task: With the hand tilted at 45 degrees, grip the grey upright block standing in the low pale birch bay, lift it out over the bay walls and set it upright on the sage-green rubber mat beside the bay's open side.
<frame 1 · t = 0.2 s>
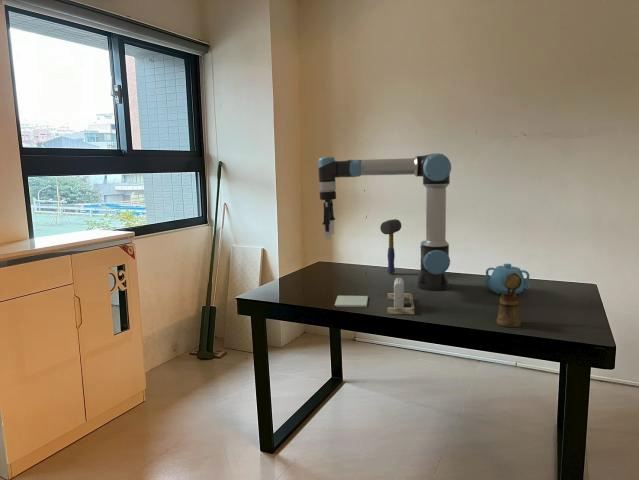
hand: (329, 236, 232), 28 cm above the table, tool pointing down, fingers open, 13 cm apart
sage mat: (351, 301, 222), on the table
rubber mallet: (391, 274, 270), on the table
brown wooden ornament: (509, 322, 191), on the table
birch bay: (399, 306, 214), on the table
decorative pot: (506, 292, 230), on the table
grey upright block: (399, 306, 214), on the table
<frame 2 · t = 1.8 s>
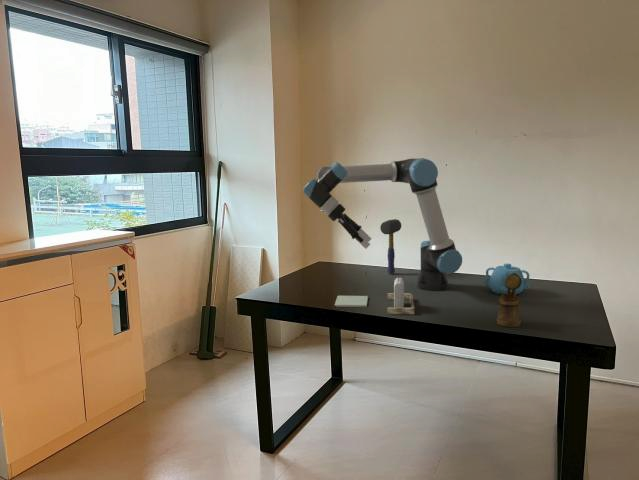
hand: (368, 243, 211), 28 cm above the table, tool tilted 45°, fingers open, 13 cm apart
nothing on the table moved.
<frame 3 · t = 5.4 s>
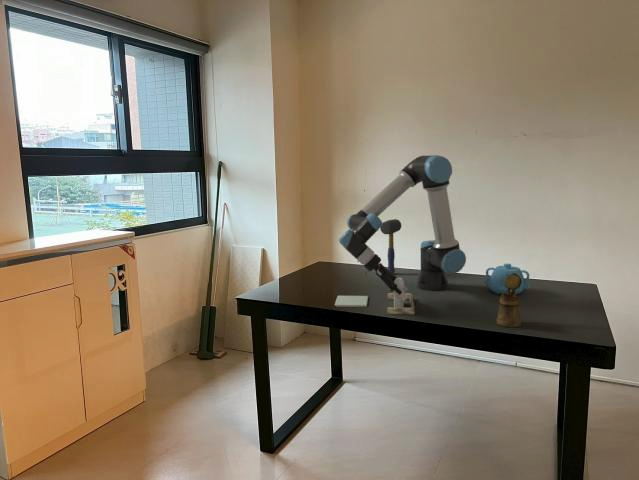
hand: (406, 294, 213), 5 cm above the table, tool tilted 45°, fingers closed on grey upright block, 10 cm apart
grey upright block: (399, 306, 214), on the table, touching gripper
everything else where it was.
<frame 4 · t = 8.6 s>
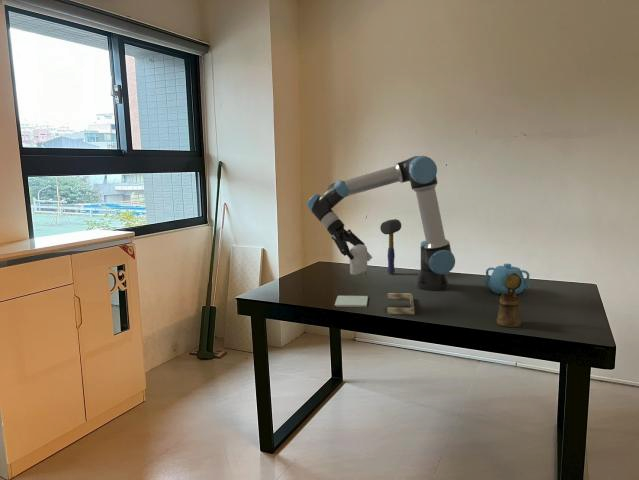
hand: (364, 261, 215), 19 cm above the table, tool tilted 45°, fingers closed on grey upright block, 10 cm apart
grey upright block: (358, 272, 217), point 14 cm above the table, touching gripper
everything else where it was.
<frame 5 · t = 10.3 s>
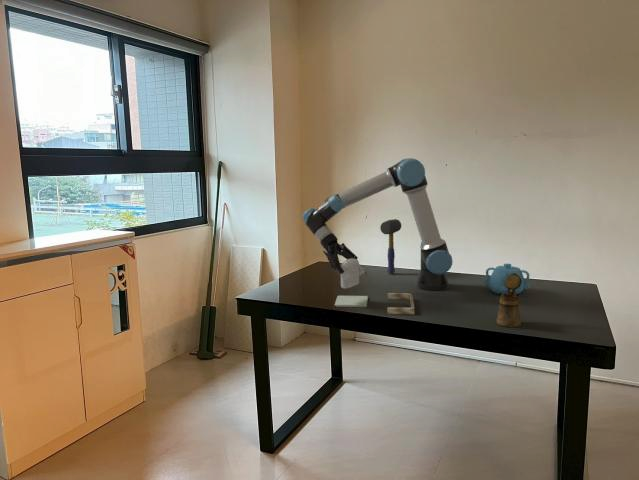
hand: (355, 275, 218), 12 cm above the table, tool tilted 45°, fingers closed on grey upright block, 10 cm apart
grey upright block: (350, 286, 221), point 7 cm above the table, touching gripper
everything else where it was.
when the fingers open (7 cm above the table, at t = 11.9 s): grey upright block drops 1 cm, resting on sage mat.
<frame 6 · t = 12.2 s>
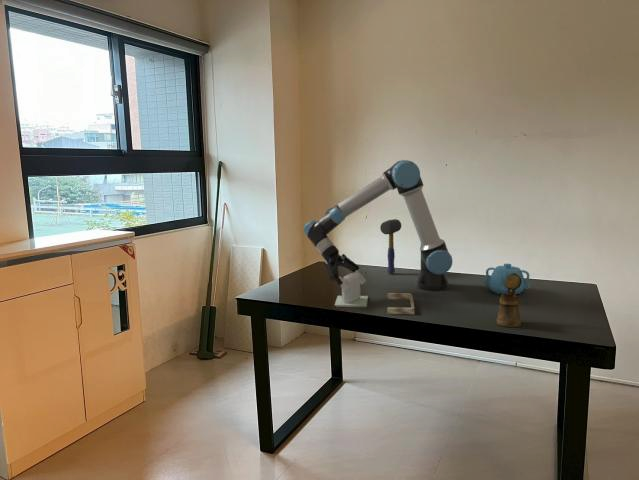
hand: (355, 286, 219), 8 cm above the table, tool tilted 45°, fingers open, 13 cm apart
grey upright block: (351, 300, 222), point 1 cm above the table, touching sage mat
everything else where it was.
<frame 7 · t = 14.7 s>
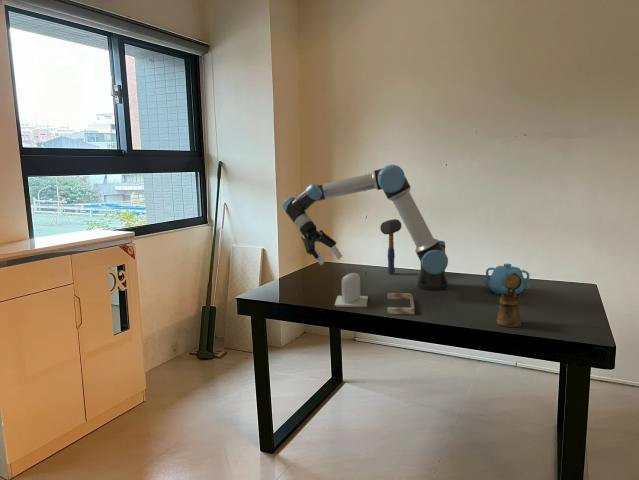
hand: (331, 260, 226), 18 cm above the table, tool tilted 45°, fingers open, 13 cm apart
nothing on the table moved.
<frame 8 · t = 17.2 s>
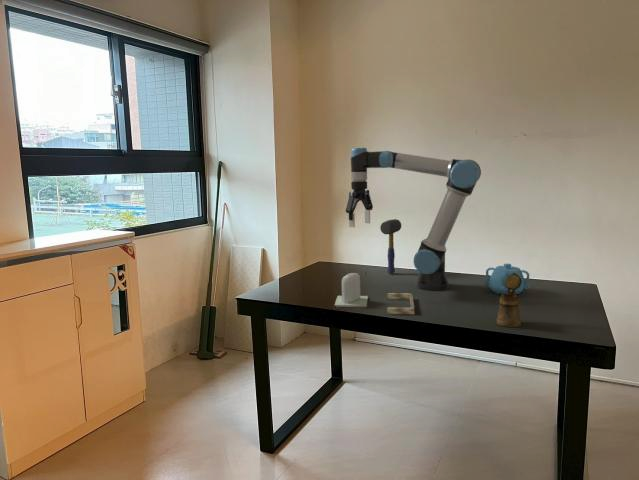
hand: (359, 225, 238), 32 cm above the table, tool pointing down, fingers open, 13 cm apart
nothing on the table moved.
at the end: grey upright block inside the target area on the sage mat (0.2 cm from its centre), point 0.6 cm above the sage mat's base; grey upright block tilted 0°; the gripper is holding nothing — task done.
